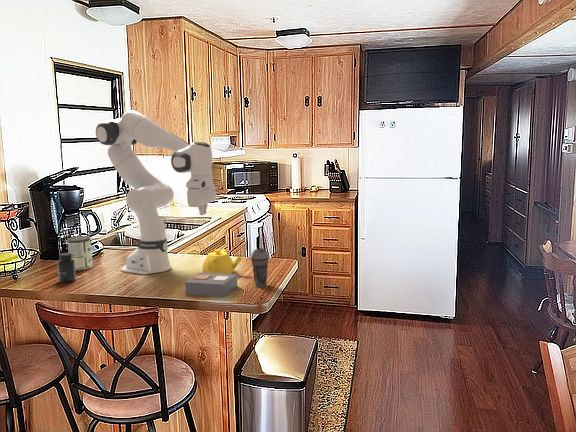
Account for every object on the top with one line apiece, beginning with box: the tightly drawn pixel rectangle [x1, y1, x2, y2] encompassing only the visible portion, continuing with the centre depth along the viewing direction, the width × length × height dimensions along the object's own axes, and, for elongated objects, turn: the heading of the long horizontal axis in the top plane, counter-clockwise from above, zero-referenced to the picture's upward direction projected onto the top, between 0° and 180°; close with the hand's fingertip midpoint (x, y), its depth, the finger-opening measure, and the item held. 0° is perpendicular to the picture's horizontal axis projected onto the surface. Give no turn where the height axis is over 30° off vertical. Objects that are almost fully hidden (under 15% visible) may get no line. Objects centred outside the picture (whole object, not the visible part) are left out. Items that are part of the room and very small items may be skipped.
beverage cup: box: [250, 236, 270, 288], centre depth 212 cm, size 7×7×20 cm
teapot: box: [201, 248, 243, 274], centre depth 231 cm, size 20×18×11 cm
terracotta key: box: [194, 275, 211, 280], centre depth 209 cm, size 5×5×2 cm
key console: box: [184, 272, 238, 298], centre depth 208 cm, size 16×14×5 cm
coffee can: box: [66, 235, 94, 271], centre depth 247 cm, size 10×10×14 cm
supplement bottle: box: [57, 252, 77, 284], centre depth 225 cm, size 7×7×12 cm
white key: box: [213, 276, 229, 281], centre depth 207 cm, size 5×5×2 cm
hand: (202, 214), depth 219 cm, fingers closed
